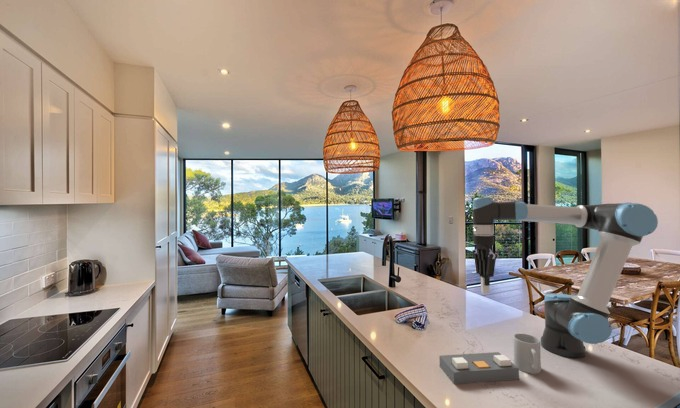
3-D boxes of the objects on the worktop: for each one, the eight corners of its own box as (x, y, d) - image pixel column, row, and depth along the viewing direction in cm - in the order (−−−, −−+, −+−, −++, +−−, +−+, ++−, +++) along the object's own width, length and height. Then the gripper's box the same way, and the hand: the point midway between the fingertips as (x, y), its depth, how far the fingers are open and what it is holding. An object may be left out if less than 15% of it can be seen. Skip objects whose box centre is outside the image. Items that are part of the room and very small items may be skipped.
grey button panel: (498, 362, 109) (498, 346, 109) (519, 379, 98) (518, 361, 98) (439, 366, 107) (439, 349, 107) (453, 384, 96) (453, 365, 96)
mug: (510, 360, 111) (509, 332, 111) (534, 362, 109) (533, 334, 109) (523, 378, 99) (523, 347, 99) (550, 381, 97) (550, 349, 97)
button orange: (483, 369, 102) (483, 360, 102) (489, 375, 99) (489, 366, 99) (473, 370, 102) (473, 361, 102) (479, 376, 98) (478, 367, 98)
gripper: (466, 233, 120) (467, 288, 120) (485, 236, 107) (486, 298, 107) (482, 233, 121) (484, 288, 121) (503, 236, 108) (505, 297, 108)
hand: (485, 292), depth 114 cm, fingers closed
